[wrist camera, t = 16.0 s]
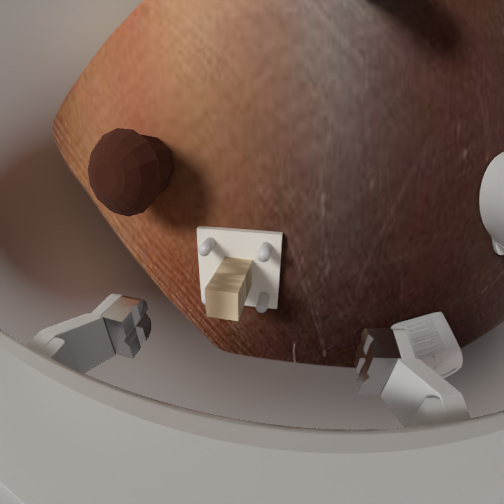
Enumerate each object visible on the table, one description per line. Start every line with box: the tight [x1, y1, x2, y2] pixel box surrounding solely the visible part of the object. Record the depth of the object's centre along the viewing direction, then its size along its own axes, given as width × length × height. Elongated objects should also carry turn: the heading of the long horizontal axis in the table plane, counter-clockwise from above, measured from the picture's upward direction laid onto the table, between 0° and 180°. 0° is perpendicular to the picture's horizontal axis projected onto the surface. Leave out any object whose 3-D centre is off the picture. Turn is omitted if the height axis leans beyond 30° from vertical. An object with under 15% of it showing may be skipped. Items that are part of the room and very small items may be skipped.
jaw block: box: [205, 257, 252, 321], centre depth 38 cm, size 4×4×9 cm
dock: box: [197, 226, 283, 313], centre depth 41 cm, size 12×12×4 cm
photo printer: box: [391, 312, 463, 378], centre depth 36 cm, size 10×4×12 cm, turn 110°
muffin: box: [88, 128, 174, 216], centre depth 34 cm, size 12×11×10 cm
